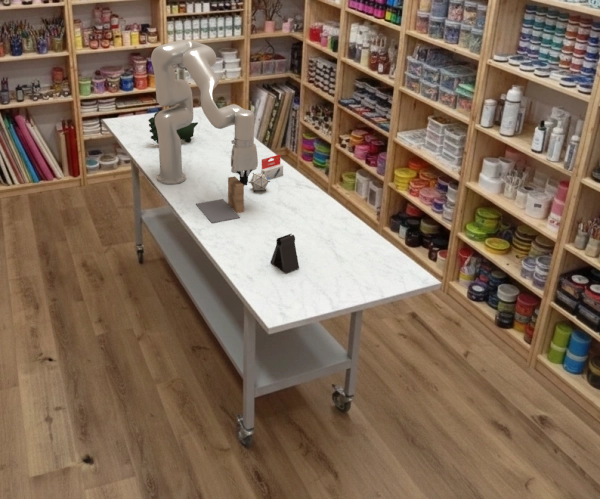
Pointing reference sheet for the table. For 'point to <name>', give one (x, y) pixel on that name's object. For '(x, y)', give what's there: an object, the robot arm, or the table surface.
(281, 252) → the phone stand
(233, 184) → the walnut slab
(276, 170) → the ink cartridge box
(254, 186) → the game die
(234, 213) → the mat
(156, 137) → the toy figurine
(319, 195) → the table surface
